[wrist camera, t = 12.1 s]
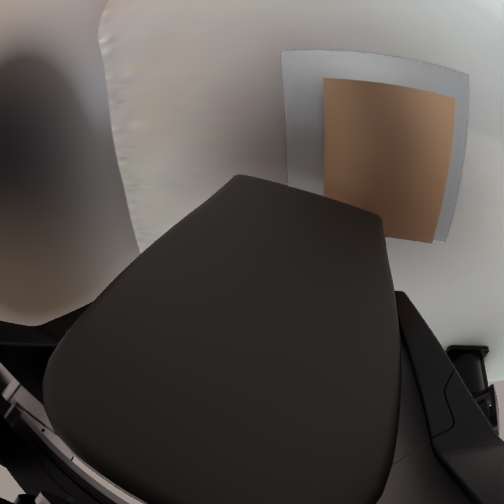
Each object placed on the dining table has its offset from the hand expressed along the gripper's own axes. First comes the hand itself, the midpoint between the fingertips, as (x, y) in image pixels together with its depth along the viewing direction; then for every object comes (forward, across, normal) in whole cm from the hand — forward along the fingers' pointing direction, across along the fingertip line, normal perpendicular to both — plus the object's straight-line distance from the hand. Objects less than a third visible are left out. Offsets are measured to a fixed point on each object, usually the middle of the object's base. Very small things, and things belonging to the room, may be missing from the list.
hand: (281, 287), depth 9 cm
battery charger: (+4, 0, 0) cm, 4 cm away
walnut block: (+11, -4, -3) cm, 12 cm away
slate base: (+13, -4, -3) cm, 14 cm away
